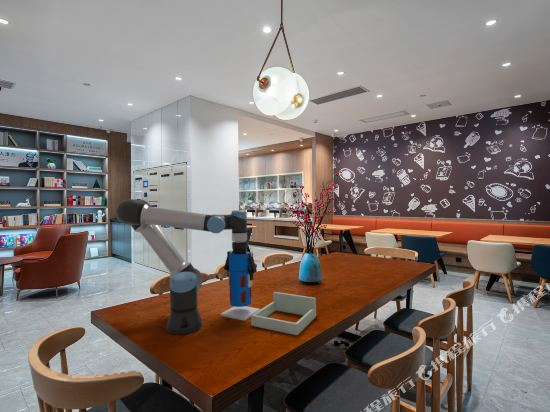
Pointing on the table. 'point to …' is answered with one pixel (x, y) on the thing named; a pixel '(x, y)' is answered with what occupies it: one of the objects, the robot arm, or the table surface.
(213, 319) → the table surface
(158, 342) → the table surface
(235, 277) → the thermos
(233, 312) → the tile
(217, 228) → the robot arm
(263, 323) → the frame
